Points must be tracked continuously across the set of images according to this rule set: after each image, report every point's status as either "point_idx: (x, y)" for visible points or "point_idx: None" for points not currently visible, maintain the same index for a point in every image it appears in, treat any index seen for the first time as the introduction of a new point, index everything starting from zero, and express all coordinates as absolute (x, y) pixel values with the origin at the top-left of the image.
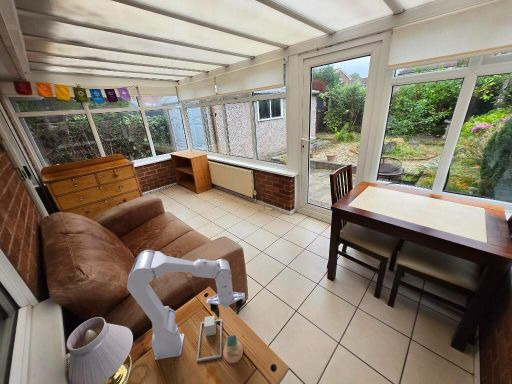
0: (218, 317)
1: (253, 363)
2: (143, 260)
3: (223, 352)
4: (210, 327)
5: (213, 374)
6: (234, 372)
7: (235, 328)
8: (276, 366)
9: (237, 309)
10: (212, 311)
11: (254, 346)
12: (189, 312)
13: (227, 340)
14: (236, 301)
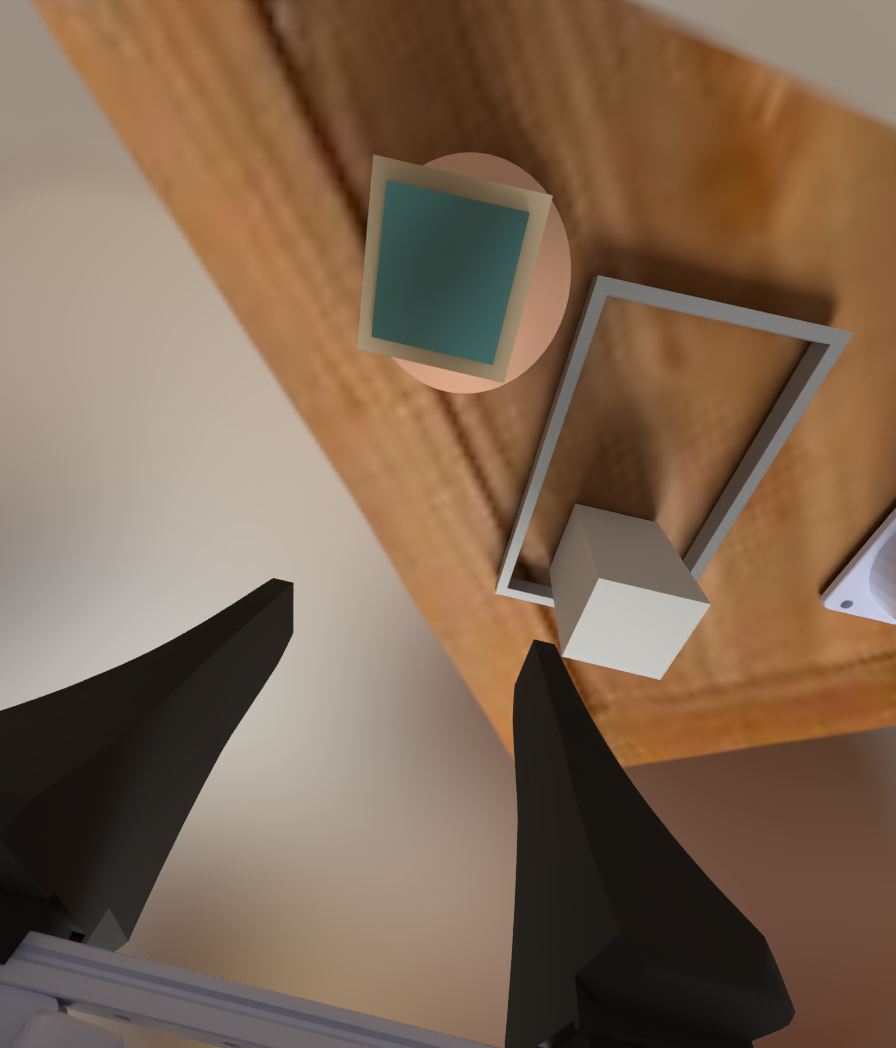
0: (546, 643)
1: (288, 74)
2: None
3: (564, 304)
4: (634, 568)
5: (731, 124)
6: (507, 48)
7: (404, 486)
8: None
9: (179, 668)
10: (704, 874)
11: (261, 262)
12: (704, 716)
13: (504, 307)
14: (48, 892)
